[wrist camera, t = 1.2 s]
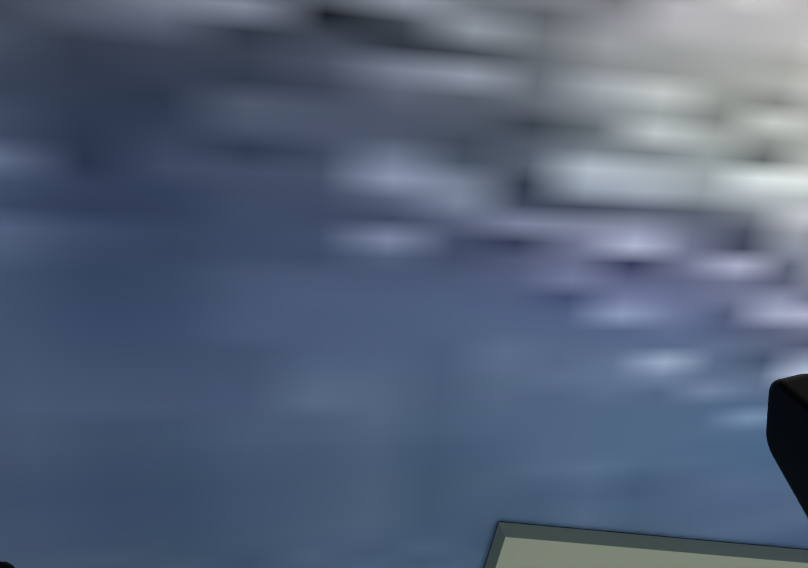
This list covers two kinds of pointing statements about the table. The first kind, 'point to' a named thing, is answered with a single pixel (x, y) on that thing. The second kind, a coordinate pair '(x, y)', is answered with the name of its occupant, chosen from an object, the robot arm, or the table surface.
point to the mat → (626, 551)
